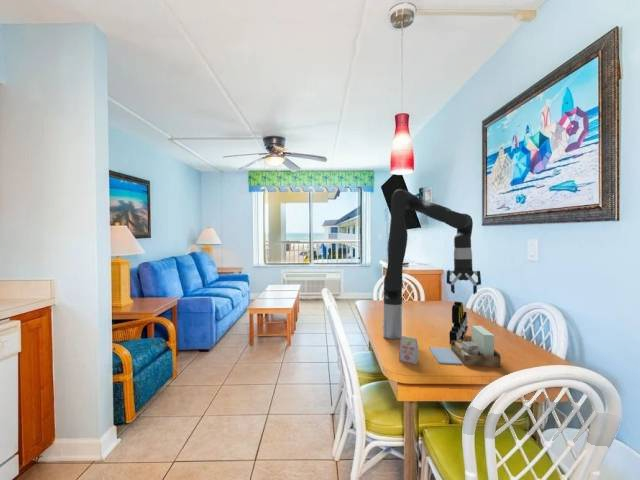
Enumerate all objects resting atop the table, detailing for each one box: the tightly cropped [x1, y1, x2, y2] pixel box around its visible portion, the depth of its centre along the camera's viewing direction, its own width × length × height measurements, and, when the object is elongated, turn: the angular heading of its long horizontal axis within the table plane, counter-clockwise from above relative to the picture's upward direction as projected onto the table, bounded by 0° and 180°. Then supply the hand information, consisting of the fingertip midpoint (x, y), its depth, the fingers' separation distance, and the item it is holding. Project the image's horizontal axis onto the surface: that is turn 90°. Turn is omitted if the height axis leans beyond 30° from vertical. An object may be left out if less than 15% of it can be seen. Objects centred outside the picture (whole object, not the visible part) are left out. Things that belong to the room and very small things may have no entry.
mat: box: [428, 346, 463, 366], centre depth 142 cm, size 9×18×1 cm, turn 174°
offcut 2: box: [462, 342, 478, 355], centre depth 136 cm, size 4×6×4 cm
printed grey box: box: [398, 335, 419, 365], centre depth 136 cm, size 4×7×10 cm, turn 53°
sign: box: [448, 301, 469, 345], centre depth 164 cm, size 22×3×20 cm, turn 143°
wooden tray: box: [450, 339, 501, 368], centre depth 140 cm, size 14×19×5 cm
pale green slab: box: [471, 325, 495, 356], centre depth 140 cm, size 4×14×12 cm, turn 174°
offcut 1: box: [455, 342, 462, 353], centre depth 145 cm, size 4×7×4 cm, turn 176°
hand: (463, 293), depth 148 cm, fingers open, 8 cm apart
